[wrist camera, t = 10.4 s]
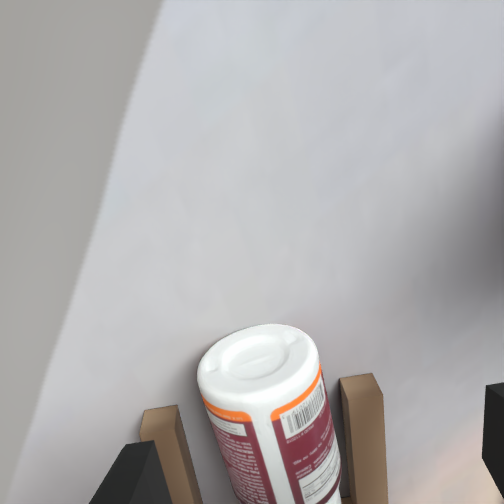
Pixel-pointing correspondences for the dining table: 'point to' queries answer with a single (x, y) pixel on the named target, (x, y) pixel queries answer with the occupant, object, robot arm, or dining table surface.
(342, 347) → the dining table surface
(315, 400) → the pill bottle
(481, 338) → the dining table surface
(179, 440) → the socket block
